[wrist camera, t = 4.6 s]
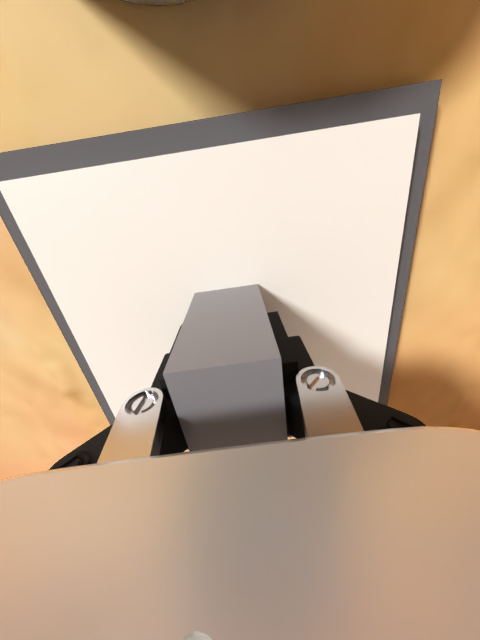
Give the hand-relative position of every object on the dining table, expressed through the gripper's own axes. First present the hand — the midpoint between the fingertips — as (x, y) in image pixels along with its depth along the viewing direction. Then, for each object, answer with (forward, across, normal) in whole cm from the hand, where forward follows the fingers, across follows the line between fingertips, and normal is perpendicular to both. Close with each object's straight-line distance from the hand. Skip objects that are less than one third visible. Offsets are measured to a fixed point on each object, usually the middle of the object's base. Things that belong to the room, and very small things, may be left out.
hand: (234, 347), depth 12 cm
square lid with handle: (+2, 0, 0) cm, 2 cm away
